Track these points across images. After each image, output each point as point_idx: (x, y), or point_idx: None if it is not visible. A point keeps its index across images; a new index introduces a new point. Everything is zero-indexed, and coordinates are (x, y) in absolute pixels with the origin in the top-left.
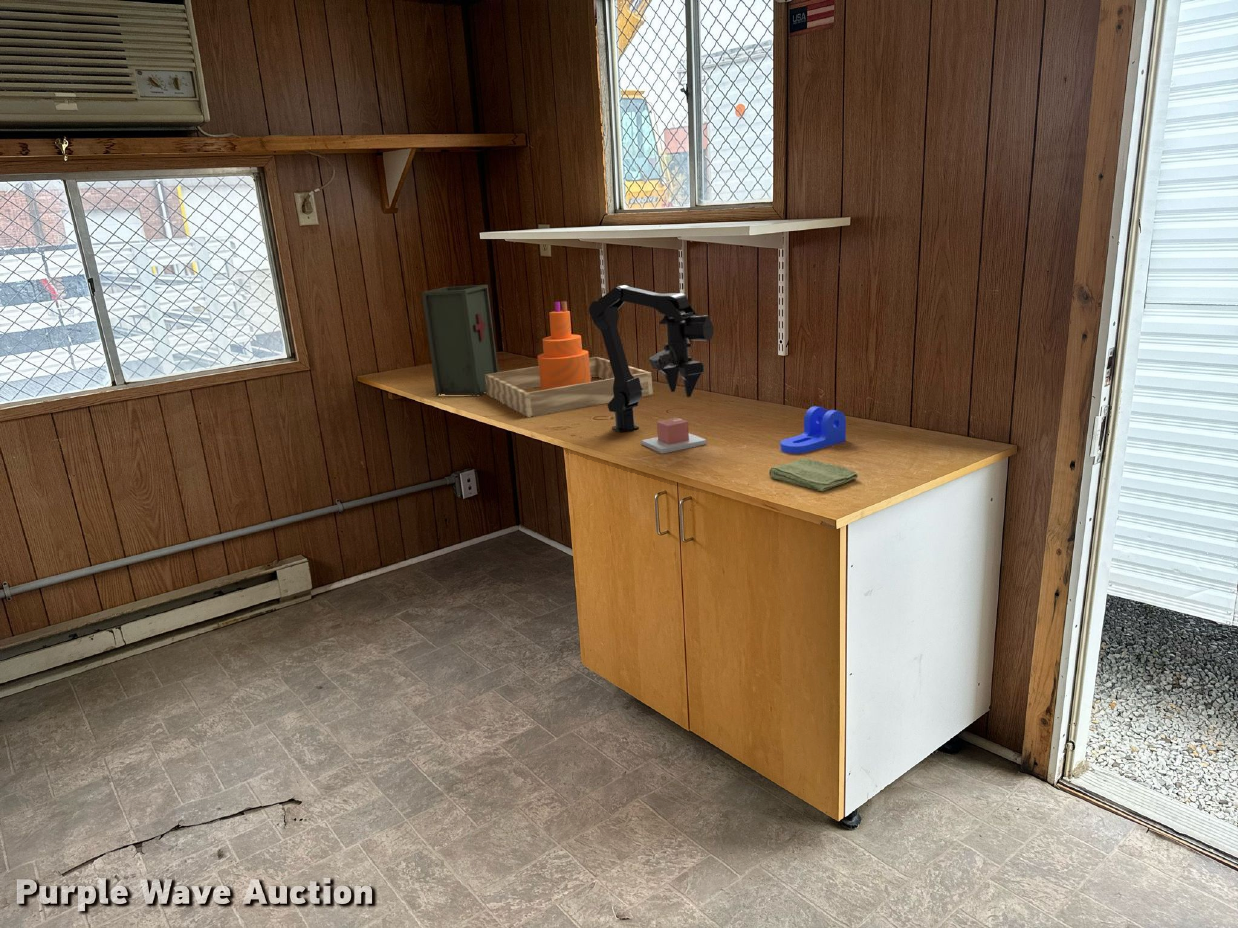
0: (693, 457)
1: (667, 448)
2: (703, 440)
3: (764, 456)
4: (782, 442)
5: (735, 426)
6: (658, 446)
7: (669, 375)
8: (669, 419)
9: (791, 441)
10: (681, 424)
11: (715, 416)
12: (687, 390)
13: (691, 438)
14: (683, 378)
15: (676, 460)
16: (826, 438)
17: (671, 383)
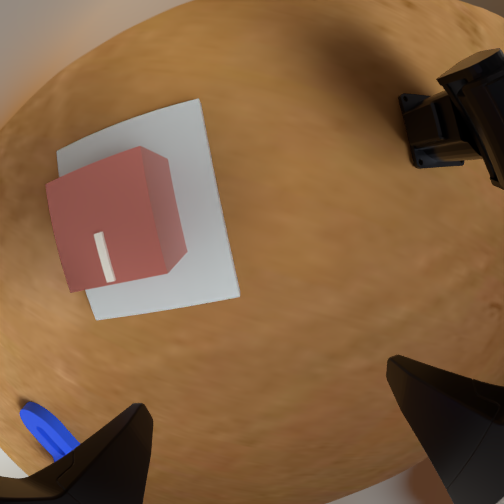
0: (14, 233)
1: (59, 172)
2: (92, 310)
3: (10, 364)
4: (38, 418)
5: (261, 433)
6: (86, 145)
7: (477, 438)
8: (145, 224)
9: (44, 429)
10: (62, 256)
11: (389, 409)
12: (98, 434)
13: (127, 285)
14: (22, 488)
15: (10, 184)
16: (55, 460)
17: (426, 400)
